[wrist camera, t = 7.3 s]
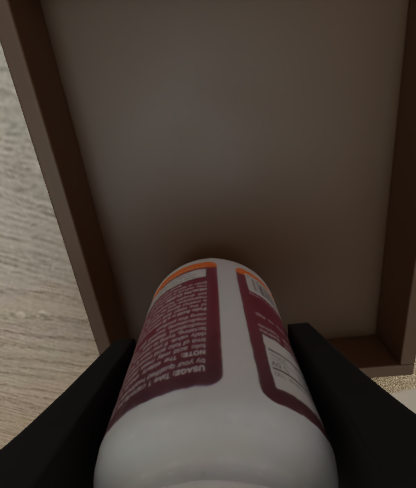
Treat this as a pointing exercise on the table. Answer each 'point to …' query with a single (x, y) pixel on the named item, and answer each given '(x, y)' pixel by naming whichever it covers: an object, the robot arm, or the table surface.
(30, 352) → the table surface
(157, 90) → the tray
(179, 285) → the pill bottle
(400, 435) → the robot arm
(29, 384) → the table surface
